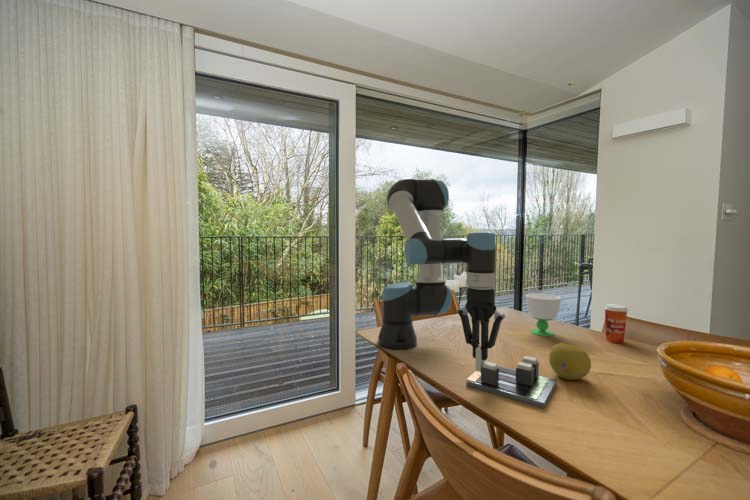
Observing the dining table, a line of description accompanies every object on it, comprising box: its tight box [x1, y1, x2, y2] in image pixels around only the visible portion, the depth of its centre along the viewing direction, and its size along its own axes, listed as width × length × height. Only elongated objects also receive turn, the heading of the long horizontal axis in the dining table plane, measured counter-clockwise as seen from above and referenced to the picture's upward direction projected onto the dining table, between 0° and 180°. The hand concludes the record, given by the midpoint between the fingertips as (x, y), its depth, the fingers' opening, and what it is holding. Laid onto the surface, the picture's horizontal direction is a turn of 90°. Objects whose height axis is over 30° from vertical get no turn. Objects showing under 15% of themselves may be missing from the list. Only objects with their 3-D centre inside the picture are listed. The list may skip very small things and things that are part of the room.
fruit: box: [548, 342, 592, 381], centre depth 99 cm, size 10×11×10 cm
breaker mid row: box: [515, 361, 534, 386], centre depth 92 cm, size 4×3×5 cm
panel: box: [465, 365, 557, 410], centre depth 94 cm, size 20×16×2 cm
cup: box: [525, 292, 562, 337], centre depth 142 cm, size 14×14×16 cm
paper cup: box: [604, 303, 629, 344], centre depth 131 cm, size 8×8×14 cm
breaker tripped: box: [481, 360, 499, 385], centre depth 93 cm, size 4×3×5 cm
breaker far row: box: [521, 355, 540, 379], centre depth 96 cm, size 4×3×5 cm
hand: (479, 370), depth 94 cm, fingers closed
